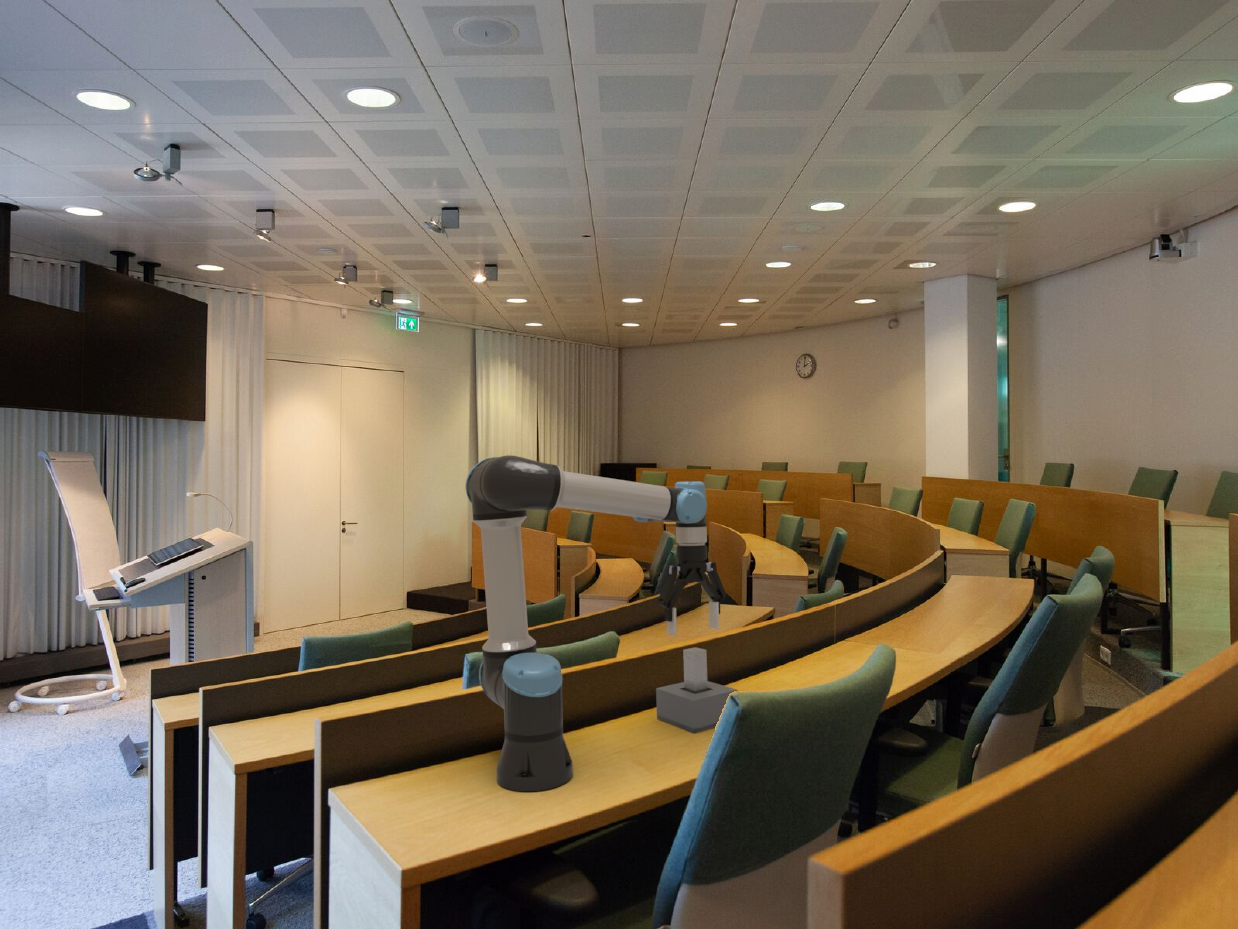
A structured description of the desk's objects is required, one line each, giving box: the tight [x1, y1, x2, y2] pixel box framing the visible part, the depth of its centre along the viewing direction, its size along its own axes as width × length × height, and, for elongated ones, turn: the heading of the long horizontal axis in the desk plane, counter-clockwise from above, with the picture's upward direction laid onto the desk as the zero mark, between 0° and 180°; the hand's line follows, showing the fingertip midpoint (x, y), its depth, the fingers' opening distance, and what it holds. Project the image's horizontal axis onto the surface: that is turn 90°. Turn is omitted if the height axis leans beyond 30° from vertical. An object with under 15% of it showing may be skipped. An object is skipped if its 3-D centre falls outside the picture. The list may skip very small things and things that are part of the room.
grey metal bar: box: [682, 647, 708, 694], centre depth 181 cm, size 4×4×16 cm
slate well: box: [655, 680, 738, 734], centre depth 181 cm, size 14×14×8 cm
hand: (693, 631), depth 182 cm, fingers open, 13 cm apart
